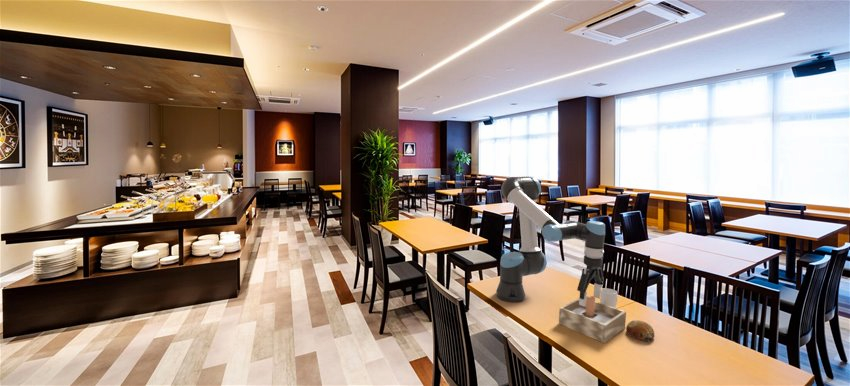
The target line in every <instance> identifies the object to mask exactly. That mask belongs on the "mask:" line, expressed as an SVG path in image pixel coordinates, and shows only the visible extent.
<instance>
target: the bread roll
mask: <svg viewBox="0 0 850 386" xmlns="http://www.w3.org/2000/svg"><path fill="white" fill-rule="evenodd" d="M625 328H626V329H625V331H626V333H627V334H628V335H629V336H630V337H631V338H633V339H636V340H637V341H643V342H651V341H653V340H654V338H655V331H654V328H653V326H651V324H650V323H647V322H646V321H644V320H640V319H639V320H634V319H633V320H631V321H630V322H628V324H627V325H626V326H625Z"/></svg>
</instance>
